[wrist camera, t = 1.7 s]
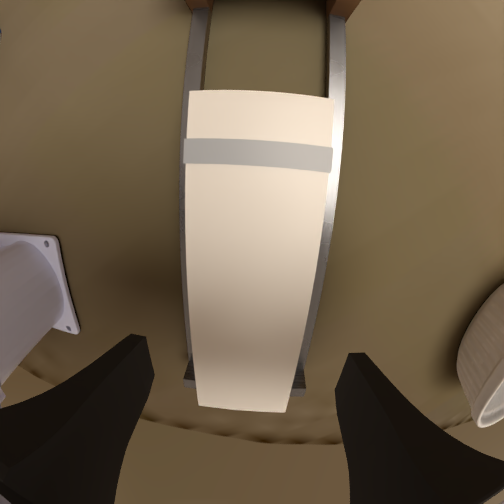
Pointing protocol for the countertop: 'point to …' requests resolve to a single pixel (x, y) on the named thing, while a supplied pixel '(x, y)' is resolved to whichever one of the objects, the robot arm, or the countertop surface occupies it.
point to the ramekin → (484, 361)
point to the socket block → (337, 3)
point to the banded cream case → (252, 238)
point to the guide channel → (336, 92)
